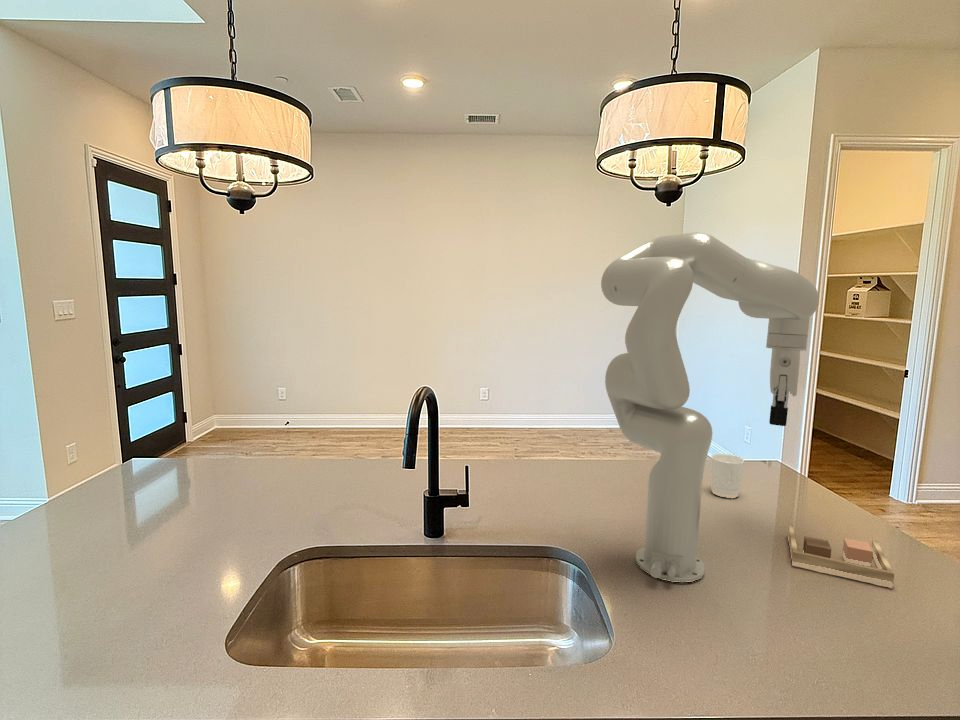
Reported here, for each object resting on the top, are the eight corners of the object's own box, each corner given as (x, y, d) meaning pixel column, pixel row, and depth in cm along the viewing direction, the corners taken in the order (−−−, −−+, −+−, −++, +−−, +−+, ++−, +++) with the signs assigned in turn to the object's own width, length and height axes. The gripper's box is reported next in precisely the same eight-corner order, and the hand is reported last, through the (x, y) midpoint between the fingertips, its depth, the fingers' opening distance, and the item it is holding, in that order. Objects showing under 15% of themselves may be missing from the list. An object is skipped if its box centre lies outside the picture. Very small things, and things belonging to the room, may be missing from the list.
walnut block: (829, 568, 98) (831, 549, 97) (805, 563, 100) (807, 544, 99) (825, 559, 102) (827, 540, 101) (802, 554, 103) (804, 536, 103)
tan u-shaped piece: (892, 589, 91) (894, 573, 91) (791, 566, 98) (793, 552, 98) (875, 555, 103) (877, 541, 103) (787, 536, 111) (788, 524, 110)
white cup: (733, 502, 129) (736, 465, 127) (703, 493, 135) (705, 457, 133) (746, 495, 134) (749, 459, 132) (716, 486, 140) (719, 451, 138)
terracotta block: (870, 571, 97) (873, 551, 97) (845, 565, 99) (847, 546, 99) (866, 561, 101) (868, 542, 100) (841, 556, 103) (844, 538, 102)
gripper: (809, 345, 101) (798, 434, 103) (804, 341, 114) (795, 420, 116) (766, 342, 105) (757, 428, 107) (766, 339, 117) (758, 416, 120)
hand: (777, 424), depth 111 cm, fingers closed
